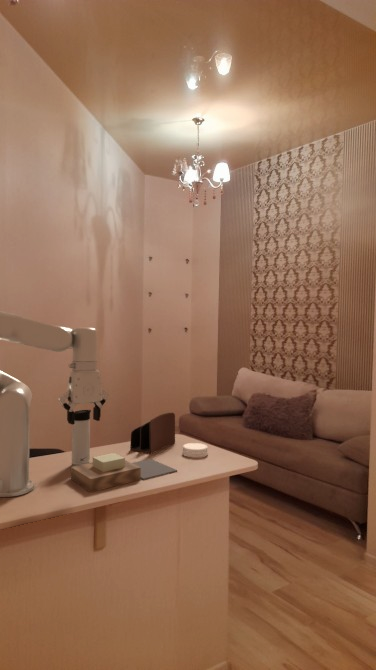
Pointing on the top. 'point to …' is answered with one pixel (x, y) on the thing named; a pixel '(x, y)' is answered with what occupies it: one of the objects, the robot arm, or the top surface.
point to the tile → (108, 462)
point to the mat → (153, 469)
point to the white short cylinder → (195, 450)
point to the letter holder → (154, 434)
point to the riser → (104, 476)
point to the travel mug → (81, 438)
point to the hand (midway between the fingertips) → (84, 421)
